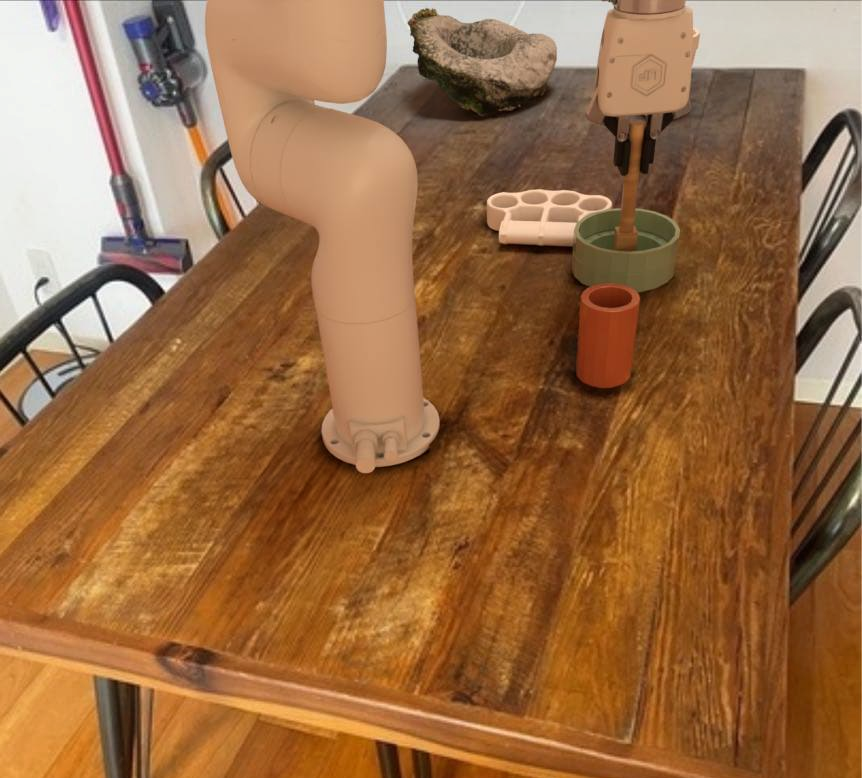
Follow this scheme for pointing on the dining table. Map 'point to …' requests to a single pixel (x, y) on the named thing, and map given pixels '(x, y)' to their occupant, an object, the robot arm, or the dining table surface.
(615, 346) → the crock
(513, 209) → the white brass knuckles
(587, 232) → the bowl
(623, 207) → the paddle
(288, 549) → the dining table surface
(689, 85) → the robot arm
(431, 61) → the stone basin
